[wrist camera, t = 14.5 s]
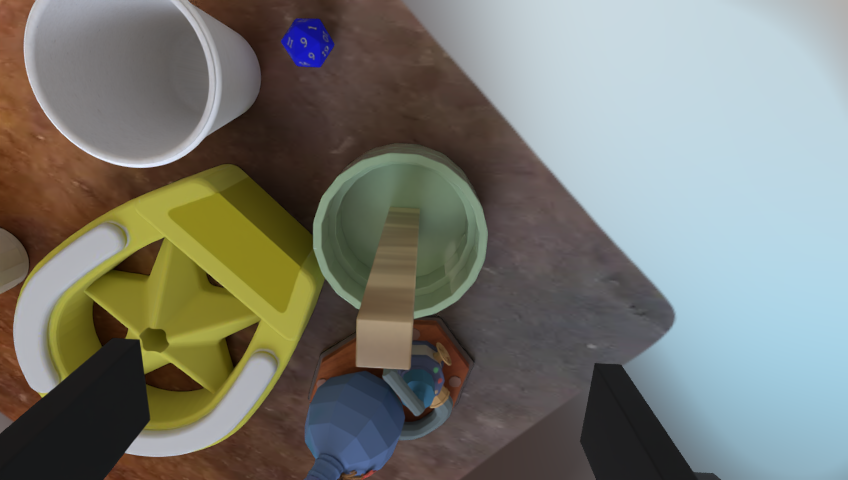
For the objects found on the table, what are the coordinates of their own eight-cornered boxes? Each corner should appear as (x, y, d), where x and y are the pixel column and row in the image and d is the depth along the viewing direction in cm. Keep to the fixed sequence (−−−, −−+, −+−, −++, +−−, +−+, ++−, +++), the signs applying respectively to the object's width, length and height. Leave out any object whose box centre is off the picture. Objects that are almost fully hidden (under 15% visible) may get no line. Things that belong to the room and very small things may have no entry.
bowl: (329, 137, 32) (312, 148, 27) (485, 147, 32) (495, 159, 27) (329, 282, 35) (313, 314, 30) (471, 290, 35) (478, 324, 31)
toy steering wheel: (372, 291, 35) (364, 324, 31) (189, 458, 40) (157, 510, 35) (185, 117, 32) (143, 124, 27) (8, 323, 36) (-55, 360, 32)
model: (361, 458, 40) (343, 567, 31) (287, 374, 37) (244, 465, 29) (490, 384, 38) (510, 478, 29) (420, 290, 35) (417, 360, 26)
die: (292, 69, 31) (264, 38, 28) (315, 34, 31) (289, 0, 28) (325, 83, 30) (299, 52, 27) (348, 47, 30) (325, 13, 27)
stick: (389, 206, 33) (356, 317, 18) (420, 208, 33) (413, 321, 18) (388, 235, 33) (355, 367, 18) (418, 237, 33) (410, 370, 18)
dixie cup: (273, 155, 32) (209, 187, 23) (142, 125, 32) (21, 145, 22) (292, 17, 30) (229, -11, 20) (150, -18, 29) (18, -63, 20)
